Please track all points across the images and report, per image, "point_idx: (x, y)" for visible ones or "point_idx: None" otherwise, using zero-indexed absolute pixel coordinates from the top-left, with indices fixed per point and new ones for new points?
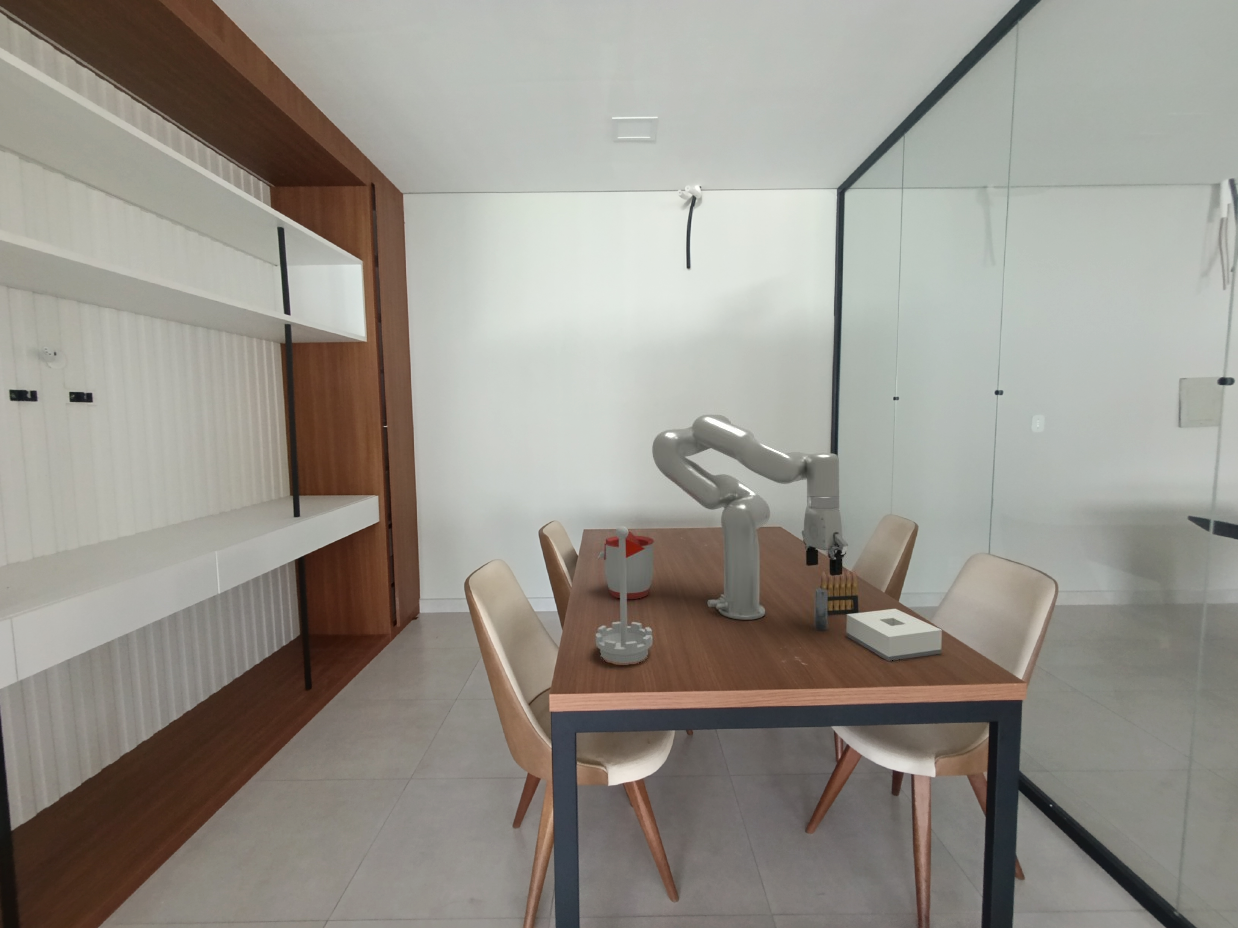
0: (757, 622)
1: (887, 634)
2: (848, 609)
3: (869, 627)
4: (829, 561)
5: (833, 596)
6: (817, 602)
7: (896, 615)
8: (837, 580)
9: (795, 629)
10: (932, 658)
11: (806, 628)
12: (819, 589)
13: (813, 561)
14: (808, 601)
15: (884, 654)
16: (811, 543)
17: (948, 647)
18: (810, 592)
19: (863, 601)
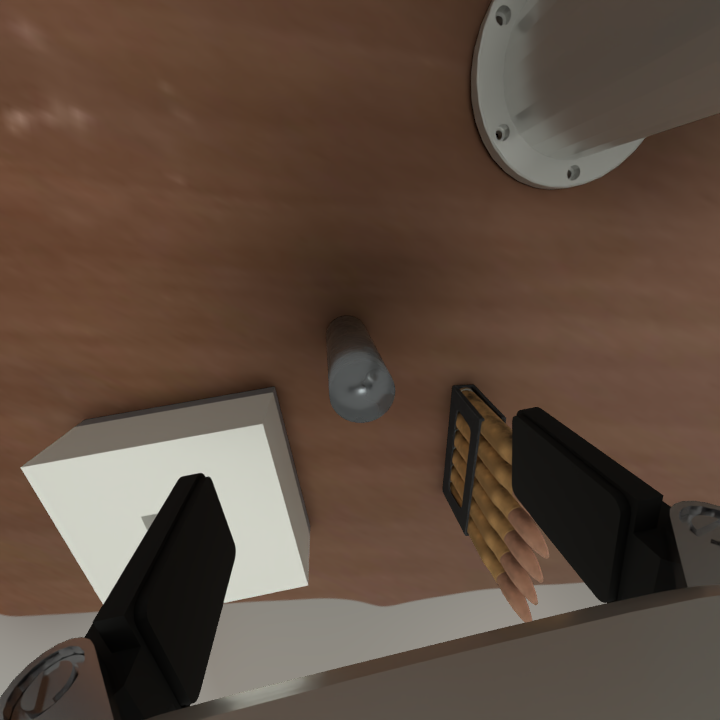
0: (441, 104)
1: (46, 472)
2: (450, 474)
3: (128, 445)
4: (155, 581)
5: (476, 459)
6: (342, 347)
7: (245, 565)
8: (510, 520)
9: (348, 240)
10: None
11: (352, 286)
12: (373, 388)
13: (530, 475)
14: (574, 395)
15: (91, 423)
16: (548, 711)
17: None
18: (640, 433)
19: None
